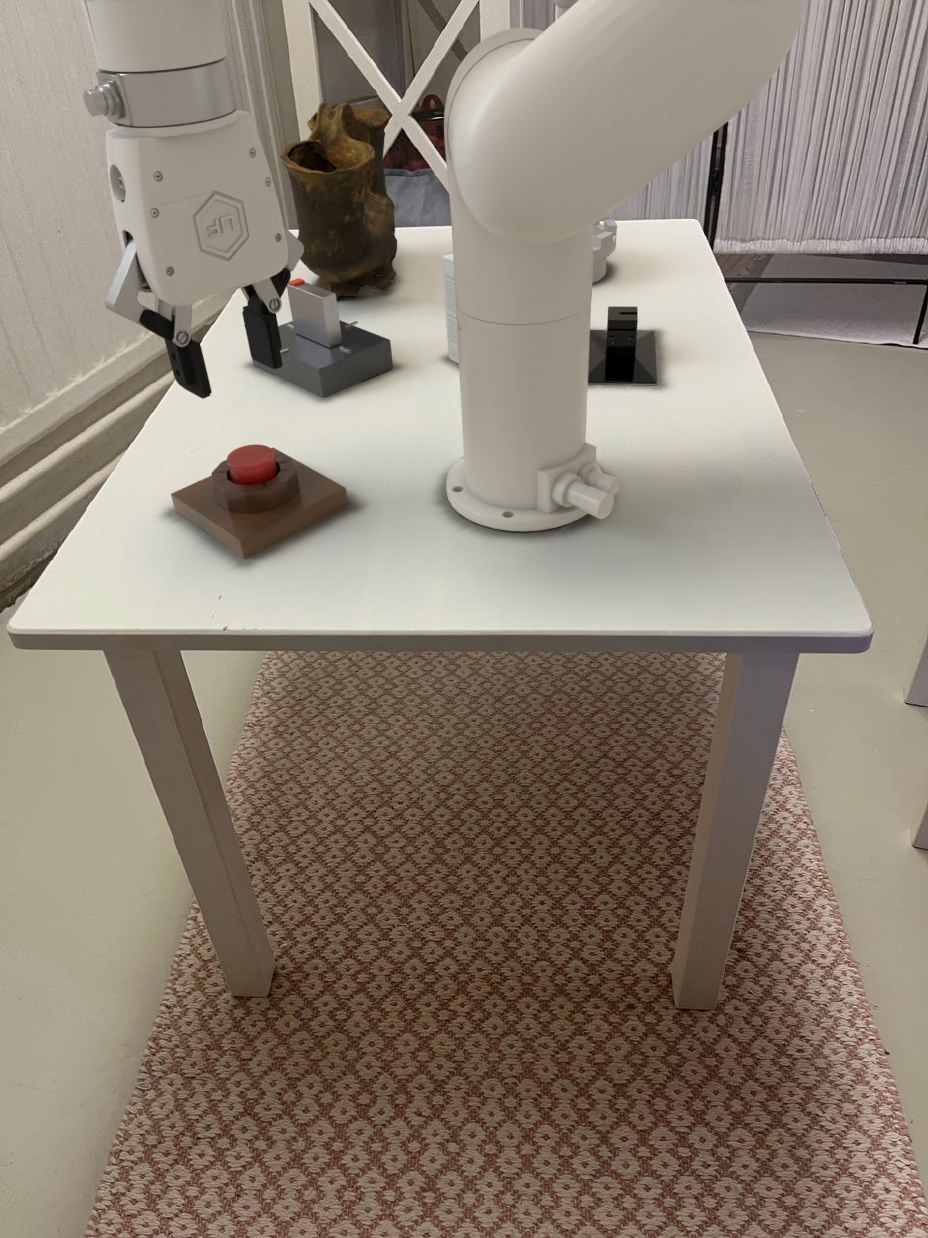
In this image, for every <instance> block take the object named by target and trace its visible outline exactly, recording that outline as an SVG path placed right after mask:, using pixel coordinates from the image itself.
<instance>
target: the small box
mask: <svg viewBox="0 0 928 1238" xmlns="http://www.w3.org/2000/svg"><path fill="white" fill-rule="evenodd" d="M441 266H442V279H443V280H442V281H443V294H444V310H445V325H446V339H447V352H448V353H447V355H448V359H449V360H451V361H453V362H455V363H457V364H458V365H459V355H458V337H457V319H456V294H455V276H454V257H453V252H452V253H449V254H445V255H442V257H441Z"/></svg>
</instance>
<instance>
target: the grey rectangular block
mask: <svg viewBox="0 0 928 1238" xmlns="http://www.w3.org/2000/svg"><path fill="white" fill-rule="evenodd" d="M286 290H287V296H288V301H289V308H290V314H291V319H292V320H291V321H293V326H294V332H295V333H297V334H299V335H301V336H304V337H306V338H308V339H311V340H313V341H315V342H317V343H320V344H322V345H324V346H327V347H329V348H331V347H334V346H336V345H339V344H341V343H342V337H341V329H340V322H339V320H340V315H339V308H338V301H337V300H338V299H336V294H335V293H333V292H330V291H328V290H325V289H322V288H319V287H317V286H316V285H314V284H311V283H309V282H306V281H305V279H302V278H300V277H298V278H294V279H291V280H290V281H289V283H288V285H287V287H286Z"/></svg>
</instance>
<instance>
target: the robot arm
mask: <svg viewBox="0 0 928 1238" xmlns="http://www.w3.org/2000/svg"><path fill="white" fill-rule="evenodd" d="M805 3H806V0H578V1H577V2H576V3H575V4H574V5H573V6H572V7H571V8H570V9H568V10H567V11H566V12H565V13H564V14H563V15H562V16H561V17H559V18H558V17H557V19H556V20H555V21H553V23H551V25H549V26H548V27H547V28H546V29H544V30H540V29H538V28H531V27H514V28H507V29H504V30H500V31H498V32H496V33H492V34H491V35H489V36H488V37H486V38H484V39H482V41H480V42H479V43H478V44H476V46H474V47H473V48H472V49H471V50H470V51H469V52H468V53H467V54H466V56H465V57H464V58H463V60H462V61H461V62H460V64H459V66H458V67H457V69H456V71H455V72H454V74H453V77H452V79H451V82H450V85H449V87H448V91H447V94H446V98H445V99H446V100H445V106H444V113H443V135H444V137H443V138H444V149H445V150H444V151H445V162H446V172H447V181H448V196H449V207H450V209H449V211H450V223H451V240H452V253H453V257H454V276H455V294H456V319H457V337H458V355H459V364H458V370H459V371H458V372H459V390H460V392H459V393H460V407H461V409H460V410H461V427H462V444H463V447H462V448H463V456H462V457H461V458H460V459H458V460H457V461H456V462H455V463H454V464H453V465H452V466H451V468H450V469H449V470H448V472H447V475H446V478H445V483H446V484H445V488H446V495H447V500H448V501H449V504H450V506H451V507H452V508H453V509H454V510H455V511H456V512H457V513H458V514H459V515H461V516H463V517H464V518H466V519H467V520H468V521H471V522H474V523H475V524H478V525H480V526H484V527H487V528H490V529H494V530H500V531H501V530H502V531H507V532H537V531H538V532H539V531H545V530H550V529H551V530H552V529H556V528H559V527H563V526H565V525H568V524H572V523H573V522H575V521H578V520H580V519H581V518H584V516H586V515H587V514H589V515H590V516H592V517H595V518H597V519H599V520H604V519H606V518H608V516H609V515H610V514H611V513H612V511H613V510H614V509H613V508H614V505H615V498H614V497H615V496H616V495H617V494H618V492H619V491H620V488H621V480H620V479H619V478H616V477H615V476H611V475H609V474H607V473H603V471H602V470H601V467H600V466H599V465H598V463H597V446H595V445H593V444H590V443H588V442H587V441H586V438H587V418H588V417H587V415H588V414H587V413H588V391H589V390H588V389H589V384H588V366H589V341H590V330H591V317H592V316H591V312H592V299H593V283H592V278H593V224H594V223H596V222H597V221H599V220H600V221H601V220H602V219H604V218H605V217H606V216H608V215H609V214H611V213H612V212H613V211H614V210H616V209H617V208H619V207H620V206H621V205H622V204H624V203H625V202H627V201H628V200H629V199H630V198H632V197H633V196H634V195H636V194H637V193H638V192H639V191H641V190H642V189H644V188H645V187H646V186H647V185H648V184H650V183H652V181H654V180H655V179H656V178H658V177H659V176H660V175H662V174H663V173H664V172H665V171H666V170H668V169H669V168H670V167H671V166H673V165H674V164H675V163H677V162H678V161H680V160H681V159H682V158H683V157H684V156H686V155H687V154H689V153H690V152H691V151H692V150H694V149H695V148H696V147H698V145H700V144H701V143H702V142H704V141H705V140H706V139H708V138H709V137H710V136H712V135H713V134H714V133H715V132H717V131H718V130H719V129H720V128H721V127H723V126H724V125H725V124H726V123H728V122H729V121H730V120H731V119H732V118H734V117H735V116H736V115H738V114H739V113H740V112H741V111H742V110H743V109H744V108H745V107H746V106H748V105H749V104H750V103H751V102H752V101H753V100H754V99H755V97H757V96H758V95H759V93H760V92H761V91H762V90H763V89H764V88H765V87H766V85H768V83H769V82H770V81H771V79H772V78H773V77H774V76H775V74H776V73H777V72H778V70H779V68H780V66H781V65H782V64H783V62H784V61H785V59H786V57H787V55H788V54H789V51H790V50H791V48H792V45H793V43H794V42H795V39H796V37H797V34H798V31H799V28H800V25H801V22H802V18H803V14H804V9H805ZM80 4H81V8H82V11H83V15H84V19H85V23H86V27H87V30H88V34H89V38H90V41H91V46H92V49H93V53H94V56H95V61H96V64H97V68H98V71H96V72H95V74H96V78H97V83H98V85H96V86H95V87H94V88H91V89H87V90H84V91H83V101H84V105H85V107H86V109H87V111H88V113H89V114H90V116H91V117H98V116H99V117H100V116H104V117H107V120H108V121H109V122H111V123H112V129H108V130H106V131H105V153H106V164H107V165H106V166H107V175H108V184H109V192H110V198H111V203H112V204H111V205H112V210H113V215H114V222H115V226H116V230H117V236H118V240H119V244H120V249H121V252H122V258H121V260H120V262H119V265H118V267H117V269H116V272H115V275H114V277H113V280H112V282H111V284H110V287H109V289H108V291H107V295H106V297H105V300H104V306H105V307H106V309H107V310H108V311H110V312H113V313H114V314H116V315H118V316H121V317H123V318H124V319H127V320H129V321H130V322H133V323H135V324H136V325H139V326H141V327H143V328H144V329H146V330H148V331H149V332H152V333H153V334H155V335H156V336H158V337H159V338H161V339H163V340H164V343H165V347H166V351H167V355H168V358H169V361H170V366H171V370H172V374H173V377H174V379H175V381H176V383H177V384H178V385H179V386H180V387H182V388H183V389H184V390H185V391H188V392H189V393H191V394H193V395H194V396H196V397H199V398H201V400H204V399H206V398H209V397H211V394H212V392H213V391H212V386H211V382H210V378H209V374H208V370H207V367H206V361H205V357H204V353H203V350H202V349H203V348H202V346H201V343H199V342H198V341H196V340H194V339H192V319H193V305H194V304H197V303H199V302H203V301H206V300H209V299H212V298H216V297H218V296H221V295H223V294H227V293H230V292H233V291H236V290H239V289H240V291H241V292H242V294H243V296H244V297H245V300H246V301H247V305H243V306H242V312H241V313H242V319H243V324H244V328H245V334H246V338H247V343H248V348H249V353H250V357H251V360H252V359H253V360H255V361H257V362H259V363H261V364H263V365H265V366H268V367H270V368H272V369H275V370H276V369H278V368H281V367H282V366H283V364H282V358H281V353H280V350H281V348H282V345H281V339H280V333H279V328H278V326H279V323H278V317H277V313H279V312H280V311H281V309H282V305H283V302H282V296H283V295H284V293H285V290H287V285H288V283H289V281H291V278H292V272H293V271H294V270H295V269H296V267H297V265H298V263H299V262H300V261H301V259H300V258H301V256H302V255H303V252H304V245H303V244H302V243H301V242H300V241H299V240H298V239H297V238H298V237H296V236H295V235H294V234H293V233H292V232H291V231H290V230H289V229H288V228H287V227H286V226H284V225H285V224H284V221H283V216H282V213H281V208H280V207H281V206H280V203H279V199H278V196H277V191H276V189H275V188H276V187H275V183H274V180H273V176H272V172H271V169H270V165H269V163H268V162H269V161H268V159H267V156H266V153H265V150H264V147H263V144H262V142H261V139H260V136H259V134H258V131H257V129H256V126H255V123H254V120H253V118H252V116H251V114H250V112H248V111H246V110H240V109H238V107H237V102H236V101H237V100H236V96H235V89H234V85H233V79H232V75H231V69H230V63H229V58H228V54H227V53H228V52H227V48H226V42H225V38H224V31H223V27H222V21H221V15H220V10H219V5H218V4H219V3H218V0H80ZM139 292H141V293H148V294H149V293H153V295H154V310H153V309H151V308H148V307H147V306H145V305H143V304H141V303H140V302H139V299H138V295H139ZM253 360H252V361H253Z"/></svg>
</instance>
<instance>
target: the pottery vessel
mask: <svg viewBox="0 0 928 1238" xmlns="http://www.w3.org/2000/svg"><path fill="white" fill-rule="evenodd" d="M391 118H392V116H391V115H390V114H388V111H387V110H384V109H383V108H376V109H371V108H368V107H361V108H359V107H355V108H354V109H353V108H352V107H351V105H350V103H349V102H347V101H346V102H345V101H343V102H340V103H339V104H338V105H337V106H335V107H334V108H332V107H331V106H330V105H329V104H328V103H327V102H325V101H322V102H321V103H319V104H318V108H317V112H315V113H314V114H313V115H312V116H311V118H310V119H309V120H307V121H306V125H307V126H308V128H309V130H310V131H311V133H310V135H309V136H308V138H307V139H304V140H301V141H296V142H293V143H291V144H287V145H286V148H284V149H283V151H281V152H280V156H279V157H280V159H281V161H282V165H284V167H285V168H286V171H287V174H288V178H289V182H290V186H291V191H292V195H293V202H294V207H295V212H296V213H295V214H296V219H297V225H298V226H297V227H298V234H297V237H296V238H297V239H298V240H299V241H300V242H301V243H302V244H303V245H304V252H303V255H302V256H301V258H300V261H301V263H303V265H305V267H306V268H307V269H308V270H309V271H310V272H312V273H313V274H314V275H316V276H318V277H319V278H318V279H317V280H316V284H315V286H317V287H319V288H322V289H325V290H328V291H330V292H333V293H335V294H336V300H338V299H339V297H340V296H346V297H357V295H358V294H359V292H360V291H361V289H363V288H365V287H370V288H372V291H375V290H378V291H382V292H383V291H386V290H388V288H389V287H390V286H391V285H392V284H393V282H394V281H395V279H396V278H397V273H396V271H395V269H394V267H393V261H394V260H395V258H396V255H397V253H398V238H396V223H395V222H396V221H395V208H396V206H395V204H394V201H393V200H392V199H391V197H389V196H390V195H389V194H388V191H387V188H386V176H385V169H384V149H385V137H386V131H385V129H386V127H387V126H388V125H389V122H390V120H391Z"/></svg>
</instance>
